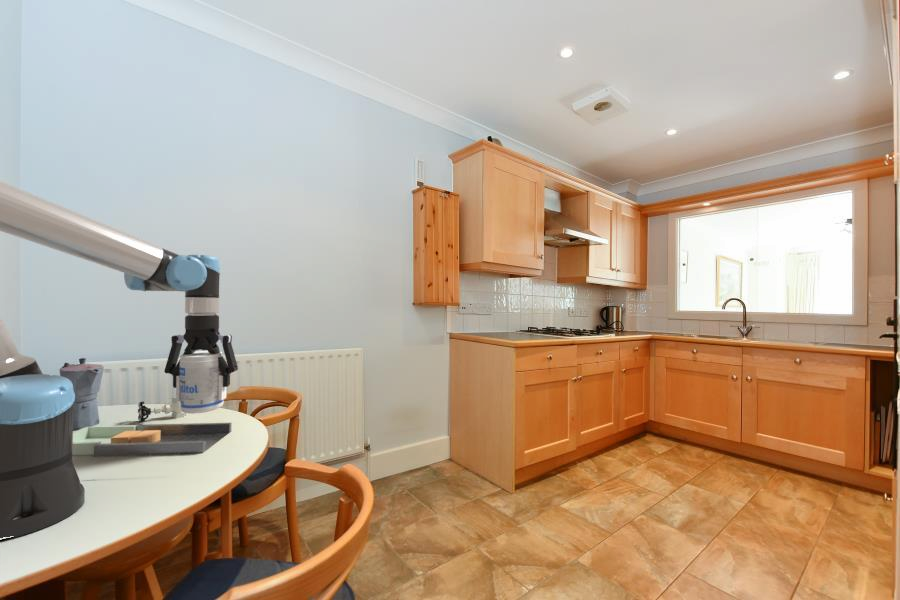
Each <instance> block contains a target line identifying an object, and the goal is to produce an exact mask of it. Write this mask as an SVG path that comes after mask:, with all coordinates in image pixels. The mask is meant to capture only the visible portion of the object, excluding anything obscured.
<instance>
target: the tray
mask: <svg viewBox="0 0 900 600" xmlns="http://www.w3.org/2000/svg"><path fill="white" fill-rule="evenodd" d="M136 426H137V425H136V424H133V425H132V424H130V425H129V424H128V425H126V424H125V425H94V426H87V427H85V428H82V429H80V430H74V431H73V444H72V456H91V455H92V456H94V445H96V444H107V443H111V438H112V437H114V436H116V435H118V434H120V433H122V432H124V431H136Z"/></svg>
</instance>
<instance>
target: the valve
mask: <svg viewBox="0 0 900 600" xmlns="http://www.w3.org/2000/svg"><path fill="white" fill-rule="evenodd" d="M144 404H145V401H139V403H138V405H137V406H138V409H137V413H138V416H137V420H138V423H139V424H141V423H145V422H146V420H147V419H148V418H149V416H151V414H153V413H154V414H160V413H161V412H162V413H164V414H165V415H166V414H170V413H171V419H181V417H182V418H185V417H186V416H187V413H184V412H183V411H182V410H181V401H176V395H174V396H172V398H171V403H165V404H164V405H163V406H162V407H161V406H156V407H154V408H149V407H148V406H146V405H144ZM184 416H185V417H184Z"/></svg>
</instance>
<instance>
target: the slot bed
mask: <svg viewBox="0 0 900 600" xmlns="http://www.w3.org/2000/svg"><path fill="white" fill-rule="evenodd" d="M232 424H233V423H232V422H201V423H200V422H199V423H198V422H196V423H195V422H193V423H162V424H161V423H156V424H155V423H151V424H149V423H148V424H138V425H136V431H147V430H161V436H160V440H159V441H157V442H144V443H107V444H96V445H94V455H92V457H93V458H99V457H101V458H105V457H109V458H110V457H132V456H135V457H136V456H137V457H138V456H165V455H167V456H168V455H169V456H171V455H172V456H173V455H197V454H198V455H200V454H204V453H205V452H206V451H208V450H209V449H210V448H212V447H214V445H215V444H217V443H218V442H220V441H221V440H223V439H224V438H225V437H226V436H227V435H229V434H230V433H231V432H232Z"/></svg>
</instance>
